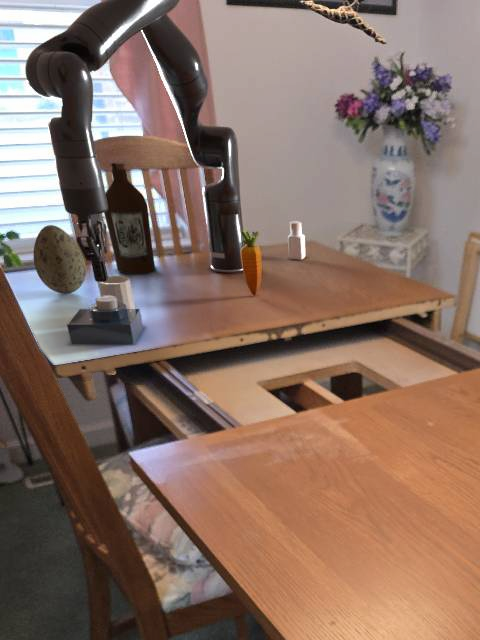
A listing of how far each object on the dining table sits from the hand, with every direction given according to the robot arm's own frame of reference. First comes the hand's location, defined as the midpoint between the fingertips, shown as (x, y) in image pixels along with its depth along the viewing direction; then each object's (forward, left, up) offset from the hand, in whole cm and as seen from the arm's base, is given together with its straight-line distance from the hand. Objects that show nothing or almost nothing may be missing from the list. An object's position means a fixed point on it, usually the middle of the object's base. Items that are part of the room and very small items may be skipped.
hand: (102, 280), depth 139 cm
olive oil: (-51, -5, -11) cm, 52 cm away
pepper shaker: (-64, +37, -11) cm, 75 cm away
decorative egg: (-30, -17, -11) cm, 36 cm away
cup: (-12, -1, -11) cm, 16 cm away
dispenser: (0, -1, -11) cm, 11 cm away
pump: (0, 0, -6) cm, 6 cm away
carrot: (-28, +27, -11) cm, 40 cm away
